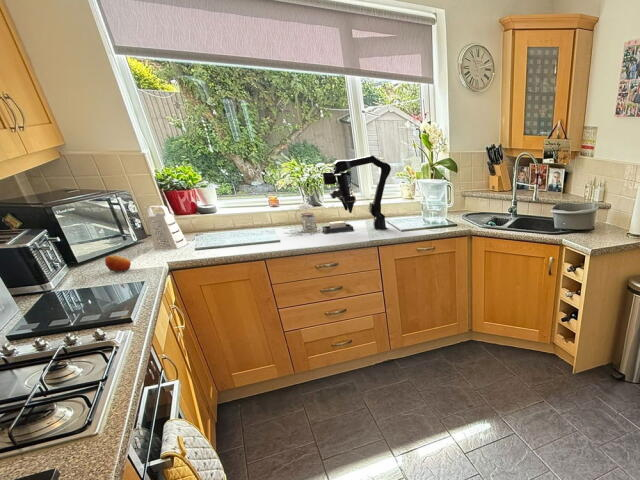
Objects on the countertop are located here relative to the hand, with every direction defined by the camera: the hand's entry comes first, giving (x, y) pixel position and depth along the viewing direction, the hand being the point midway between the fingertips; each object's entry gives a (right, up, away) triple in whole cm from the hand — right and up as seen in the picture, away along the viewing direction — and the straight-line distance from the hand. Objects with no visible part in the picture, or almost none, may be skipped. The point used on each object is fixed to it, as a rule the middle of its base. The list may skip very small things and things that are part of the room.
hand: (348, 211), depth 247 cm
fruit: (-72, -50, -69) cm, 111 cm away
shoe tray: (-8, -10, +6) cm, 14 cm away
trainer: (-8, -9, +5) cm, 14 cm away
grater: (-79, -30, -33) cm, 91 cm away
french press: (-26, -10, +5) cm, 28 cm away
